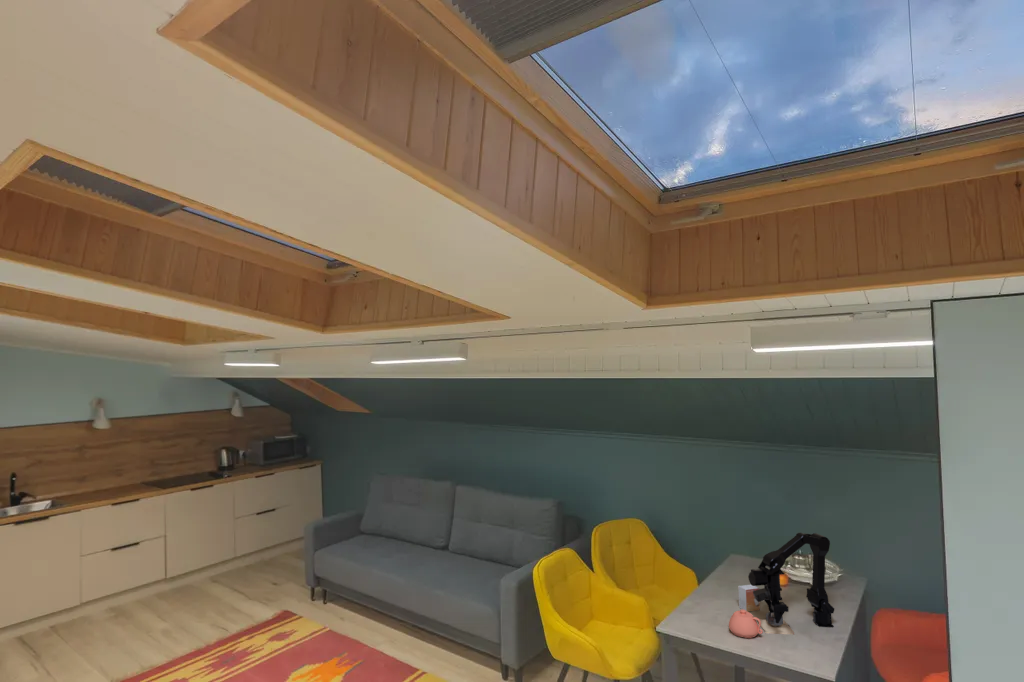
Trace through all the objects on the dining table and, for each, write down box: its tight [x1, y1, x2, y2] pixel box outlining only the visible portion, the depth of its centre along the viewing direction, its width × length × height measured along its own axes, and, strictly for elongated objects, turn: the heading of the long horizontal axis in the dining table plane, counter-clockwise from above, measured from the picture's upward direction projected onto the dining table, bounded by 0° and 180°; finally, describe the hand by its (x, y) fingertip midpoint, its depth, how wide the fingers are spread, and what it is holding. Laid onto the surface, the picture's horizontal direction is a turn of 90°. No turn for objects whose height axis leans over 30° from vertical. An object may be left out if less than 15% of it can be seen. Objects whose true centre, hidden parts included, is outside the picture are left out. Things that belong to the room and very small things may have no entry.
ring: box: [765, 612, 784, 625], centre depth 248 cm, size 6×6×3 cm
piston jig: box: [756, 613, 795, 636], centre depth 248 cm, size 12×12×6 cm
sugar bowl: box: [728, 608, 764, 640], centre depth 242 cm, size 12×14×10 cm
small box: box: [737, 583, 761, 613], centre depth 269 cm, size 8×6×10 cm
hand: (774, 619), depth 248 cm, fingers closed on ring, 6 cm apart
